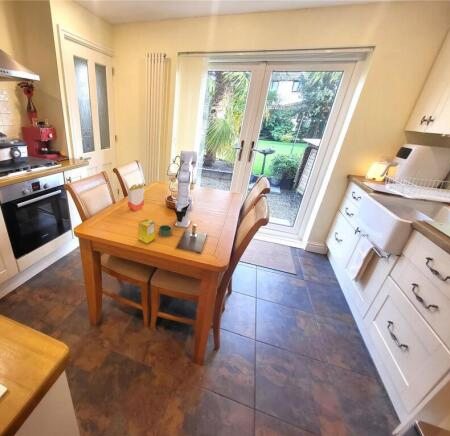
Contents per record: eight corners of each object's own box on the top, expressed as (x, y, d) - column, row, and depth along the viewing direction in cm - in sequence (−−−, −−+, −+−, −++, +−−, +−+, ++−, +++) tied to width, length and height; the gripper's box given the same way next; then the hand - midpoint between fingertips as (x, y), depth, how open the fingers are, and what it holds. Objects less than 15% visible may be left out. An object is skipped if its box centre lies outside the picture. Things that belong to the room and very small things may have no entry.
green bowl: (161, 230, 134) (161, 224, 132) (172, 232, 132) (173, 226, 131) (157, 236, 128) (157, 229, 126) (169, 238, 126) (169, 231, 125)
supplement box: (146, 236, 127) (146, 218, 123) (154, 240, 124) (155, 221, 119) (138, 240, 123) (138, 222, 118) (147, 244, 120) (147, 225, 115)
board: (185, 231, 134) (186, 229, 134) (206, 235, 131) (206, 233, 131) (176, 248, 117) (176, 247, 117) (200, 253, 114) (200, 252, 114)
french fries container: (127, 209, 159) (126, 184, 152) (139, 205, 167) (139, 181, 159) (131, 211, 157) (131, 186, 149) (143, 207, 164) (144, 182, 156)
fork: (190, 238, 125) (192, 223, 121) (196, 239, 124) (197, 224, 120) (189, 240, 123) (191, 225, 119) (195, 241, 122) (196, 226, 119)
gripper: (179, 189, 127) (177, 213, 132) (171, 197, 114) (170, 223, 120) (191, 191, 125) (189, 214, 130) (185, 199, 112) (183, 225, 118)
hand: (181, 218), depth 125 cm, fingers open, 7 cm apart
